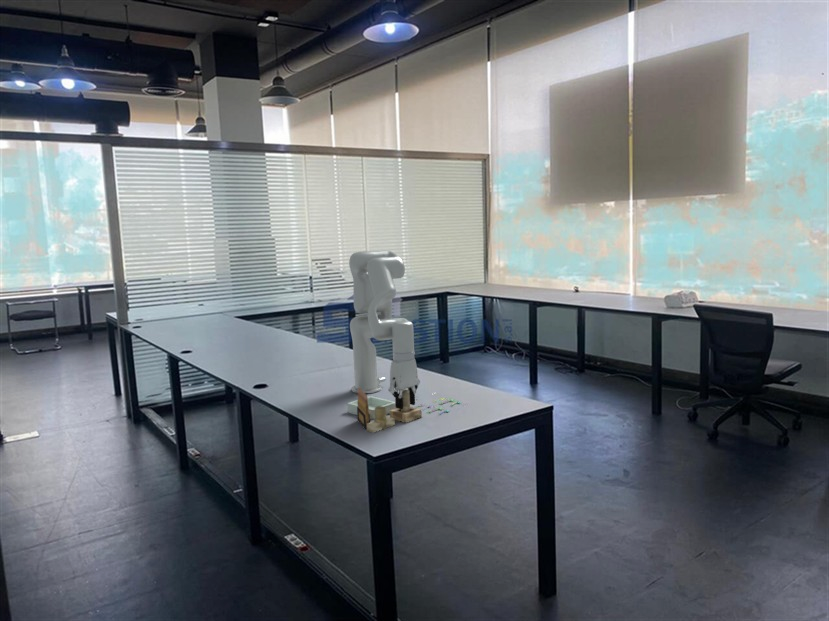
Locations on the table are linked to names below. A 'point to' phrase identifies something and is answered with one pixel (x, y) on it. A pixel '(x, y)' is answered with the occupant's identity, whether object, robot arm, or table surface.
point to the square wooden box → (406, 414)
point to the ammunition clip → (363, 409)
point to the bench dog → (380, 420)
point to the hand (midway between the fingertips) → (405, 405)
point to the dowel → (406, 401)
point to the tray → (372, 406)
